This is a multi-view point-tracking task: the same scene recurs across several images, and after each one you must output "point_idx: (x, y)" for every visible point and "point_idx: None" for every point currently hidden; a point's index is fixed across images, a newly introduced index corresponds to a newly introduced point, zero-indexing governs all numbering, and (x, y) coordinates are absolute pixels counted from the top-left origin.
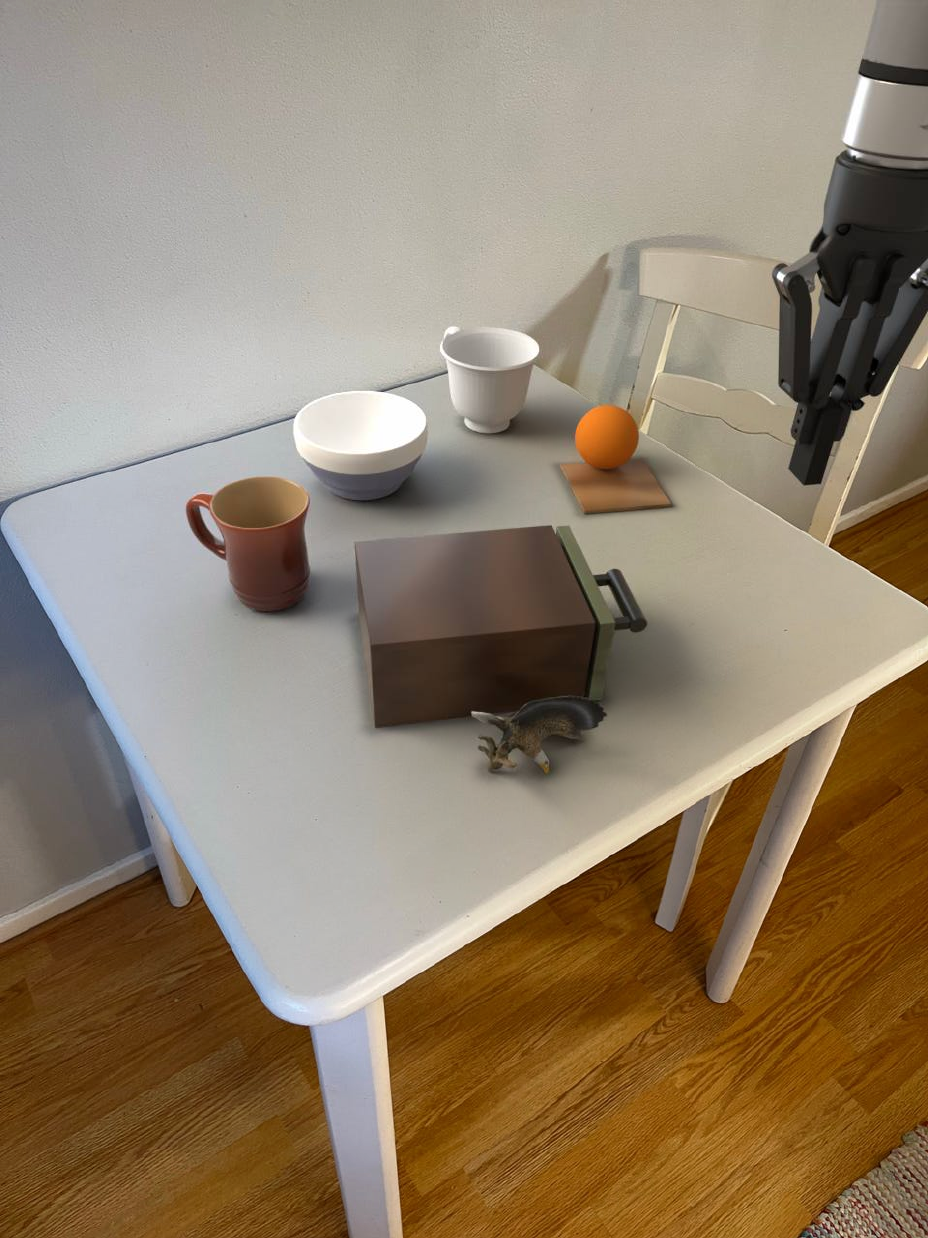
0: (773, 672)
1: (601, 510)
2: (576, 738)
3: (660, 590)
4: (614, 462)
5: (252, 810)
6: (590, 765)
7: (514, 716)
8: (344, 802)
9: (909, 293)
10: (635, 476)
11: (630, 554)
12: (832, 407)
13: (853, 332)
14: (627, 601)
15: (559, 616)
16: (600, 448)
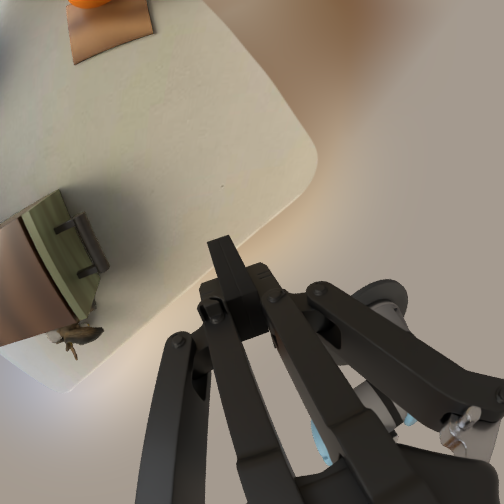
0: (205, 232)
1: (88, 57)
2: (94, 309)
3: (129, 154)
4: (101, 5)
5: (9, 348)
6: (106, 317)
7: (64, 341)
8: (29, 344)
9: (433, 411)
10: (128, 1)
11: (107, 110)
12: (252, 333)
13: (308, 401)
14: (91, 255)
15: (56, 321)
16: (82, 5)
